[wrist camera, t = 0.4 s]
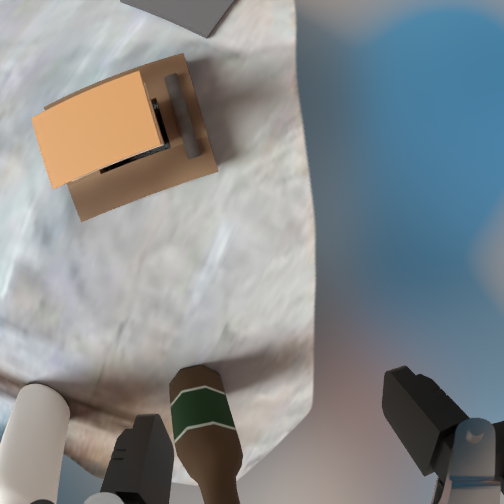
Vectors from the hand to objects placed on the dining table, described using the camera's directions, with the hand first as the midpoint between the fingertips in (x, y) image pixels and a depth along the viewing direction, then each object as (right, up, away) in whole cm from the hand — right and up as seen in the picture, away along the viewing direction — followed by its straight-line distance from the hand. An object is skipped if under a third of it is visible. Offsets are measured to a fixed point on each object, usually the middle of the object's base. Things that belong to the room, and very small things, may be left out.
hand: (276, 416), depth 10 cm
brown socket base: (-13, +17, +20) cm, 29 cm away
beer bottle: (-9, -13, +32) cm, 35 cm away
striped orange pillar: (-13, +17, +20) cm, 29 cm away
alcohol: (-32, -17, +27) cm, 45 cm away
